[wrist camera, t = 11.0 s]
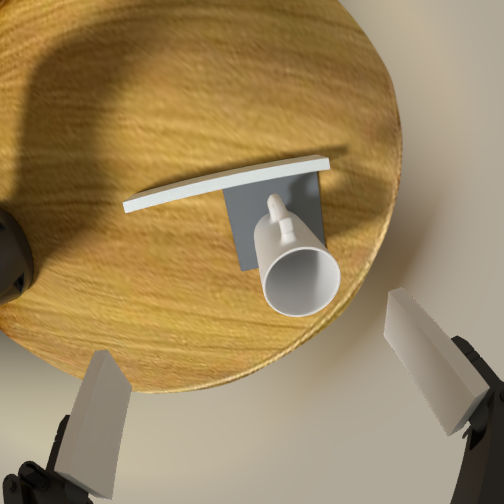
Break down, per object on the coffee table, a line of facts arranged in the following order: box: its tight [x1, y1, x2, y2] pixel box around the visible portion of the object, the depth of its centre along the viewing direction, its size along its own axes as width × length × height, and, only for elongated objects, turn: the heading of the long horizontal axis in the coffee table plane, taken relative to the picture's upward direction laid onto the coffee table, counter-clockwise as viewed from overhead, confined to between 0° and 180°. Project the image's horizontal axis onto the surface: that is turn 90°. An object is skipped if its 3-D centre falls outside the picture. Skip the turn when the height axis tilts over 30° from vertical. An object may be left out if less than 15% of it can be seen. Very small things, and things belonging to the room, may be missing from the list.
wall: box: [123, 155, 330, 213], centre depth 30 cm, size 22×1×4 cm, turn 101°
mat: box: [223, 171, 325, 271], centre depth 34 cm, size 11×11×1 cm
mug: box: [254, 194, 341, 317], centre depth 28 cm, size 10×7×12 cm, turn 16°
